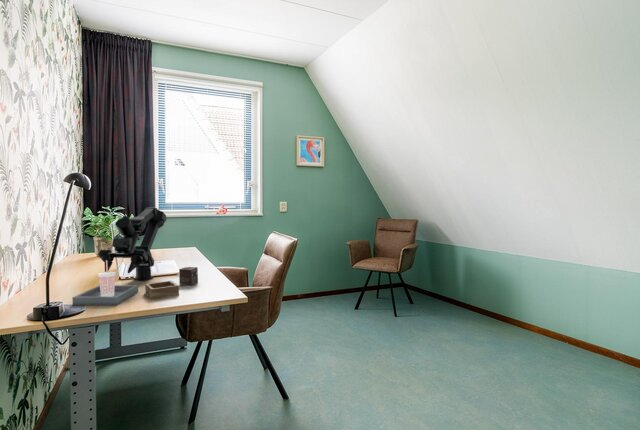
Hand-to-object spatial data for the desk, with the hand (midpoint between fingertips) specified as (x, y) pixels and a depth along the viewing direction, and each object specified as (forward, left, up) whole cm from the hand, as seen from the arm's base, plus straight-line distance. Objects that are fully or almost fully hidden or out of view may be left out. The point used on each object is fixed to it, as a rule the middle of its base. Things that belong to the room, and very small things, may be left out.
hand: (117, 272), depth 158 cm
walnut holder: (+18, +7, -8) cm, 21 cm away
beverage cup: (+4, -7, -8) cm, 11 cm away
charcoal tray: (+4, -7, -8) cm, 12 cm away
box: (+14, +25, -9) cm, 30 cm away
